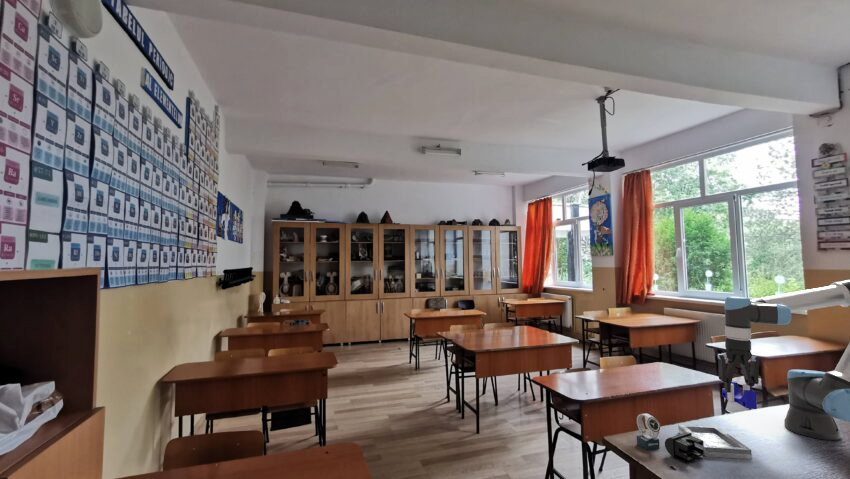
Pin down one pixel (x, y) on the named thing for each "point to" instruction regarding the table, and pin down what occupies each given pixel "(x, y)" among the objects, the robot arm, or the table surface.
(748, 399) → the cable clip
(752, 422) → the table surface
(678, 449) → the end cap
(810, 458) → the table surface
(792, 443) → the table surface
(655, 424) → the watch
